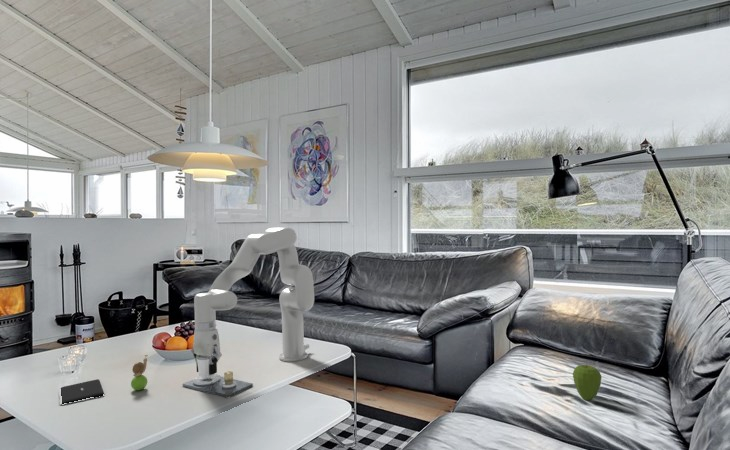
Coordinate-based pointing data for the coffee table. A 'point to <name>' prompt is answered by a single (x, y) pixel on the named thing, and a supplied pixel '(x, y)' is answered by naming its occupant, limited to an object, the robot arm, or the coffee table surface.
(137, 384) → the snail figurine
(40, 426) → the coffee table surface
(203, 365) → the shot glass
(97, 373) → the coffee table surface
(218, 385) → the flange plate
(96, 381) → the laptop
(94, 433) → the coffee table surface
